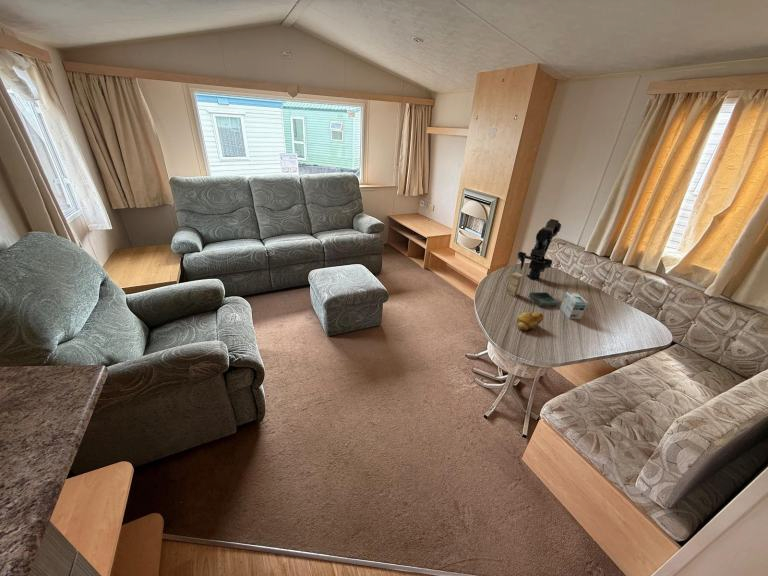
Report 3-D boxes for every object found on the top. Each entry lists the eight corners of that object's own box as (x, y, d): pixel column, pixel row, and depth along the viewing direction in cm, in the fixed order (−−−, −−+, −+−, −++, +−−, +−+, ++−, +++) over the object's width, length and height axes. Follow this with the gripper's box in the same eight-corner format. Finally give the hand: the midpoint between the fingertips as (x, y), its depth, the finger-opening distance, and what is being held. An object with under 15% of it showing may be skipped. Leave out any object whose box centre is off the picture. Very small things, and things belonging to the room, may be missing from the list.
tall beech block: (509, 290, 187) (515, 272, 181) (516, 293, 185) (522, 275, 179) (506, 293, 185) (511, 274, 178) (513, 296, 182) (519, 277, 176)
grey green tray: (528, 297, 182) (529, 292, 181) (545, 296, 184) (546, 292, 183) (539, 307, 173) (541, 302, 171) (556, 306, 174) (558, 302, 173)
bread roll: (525, 334, 149) (530, 321, 145) (508, 324, 156) (513, 310, 152) (541, 327, 155) (546, 314, 151) (525, 317, 162) (529, 305, 158)
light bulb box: (581, 320, 164) (588, 302, 159) (568, 319, 164) (575, 301, 159) (570, 309, 173) (577, 292, 168) (558, 308, 173) (565, 291, 168)
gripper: (522, 238, 180) (512, 262, 178) (557, 247, 170) (546, 272, 169) (523, 246, 189) (513, 269, 188) (555, 255, 180) (545, 279, 178)
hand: (528, 272), depth 180 cm, fingers open, 9 cm apart
